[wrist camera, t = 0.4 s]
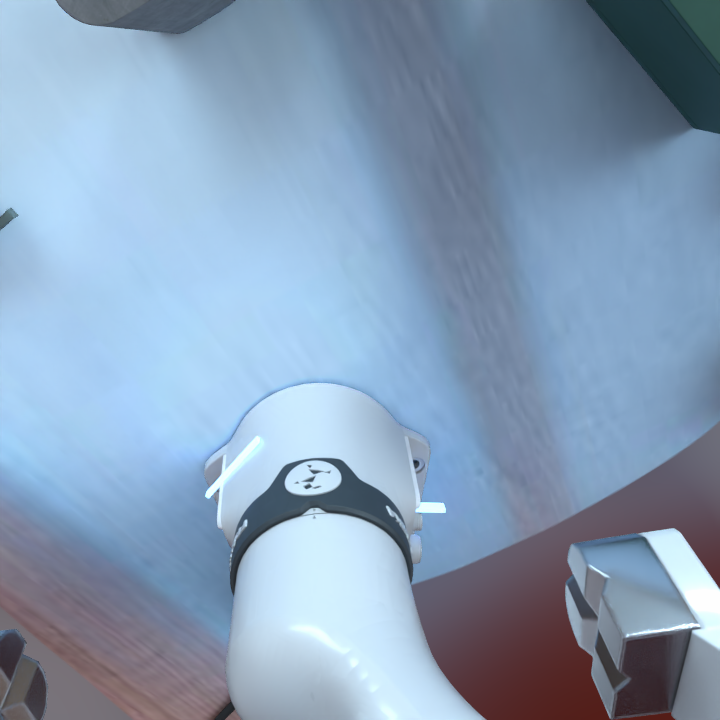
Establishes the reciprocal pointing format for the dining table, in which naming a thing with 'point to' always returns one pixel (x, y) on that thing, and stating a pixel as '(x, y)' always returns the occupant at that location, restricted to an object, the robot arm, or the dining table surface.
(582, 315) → the dining table surface
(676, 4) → the bin lid
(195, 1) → the hip flask
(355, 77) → the dining table surface
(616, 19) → the bin
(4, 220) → the cutlery set
